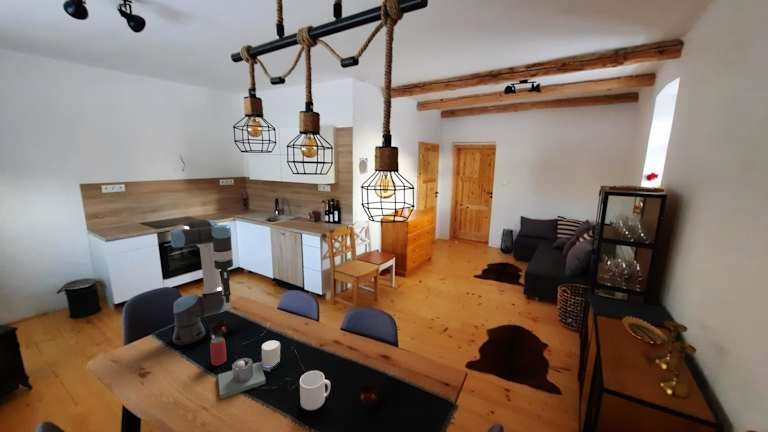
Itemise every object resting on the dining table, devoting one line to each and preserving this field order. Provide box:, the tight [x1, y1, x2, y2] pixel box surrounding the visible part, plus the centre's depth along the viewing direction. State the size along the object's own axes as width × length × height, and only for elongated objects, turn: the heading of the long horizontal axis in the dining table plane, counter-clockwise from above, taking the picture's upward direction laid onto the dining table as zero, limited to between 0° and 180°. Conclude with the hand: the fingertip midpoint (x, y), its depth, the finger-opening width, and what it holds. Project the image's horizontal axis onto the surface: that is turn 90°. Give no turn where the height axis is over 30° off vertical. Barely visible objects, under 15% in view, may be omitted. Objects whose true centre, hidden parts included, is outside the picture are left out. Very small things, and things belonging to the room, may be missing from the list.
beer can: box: [209, 336, 227, 366], centre depth 148 cm, size 7×7×12 cm
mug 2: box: [261, 340, 281, 366], centre depth 150 cm, size 12×9×8 cm
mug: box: [299, 370, 332, 411], centre depth 125 cm, size 13×10×10 cm
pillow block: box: [217, 361, 267, 400], centre depth 135 cm, size 14×18×9 cm
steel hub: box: [231, 357, 254, 383], centre depth 136 cm, size 8×8×6 cm
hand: (226, 302), depth 141 cm, fingers open, 13 cm apart
